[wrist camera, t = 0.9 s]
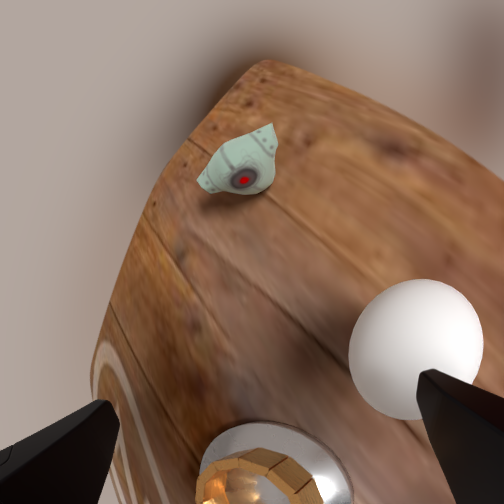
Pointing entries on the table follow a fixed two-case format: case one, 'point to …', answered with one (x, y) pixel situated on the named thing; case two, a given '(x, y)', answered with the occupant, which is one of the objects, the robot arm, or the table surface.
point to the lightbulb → (412, 343)
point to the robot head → (242, 164)
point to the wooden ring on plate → (271, 468)
